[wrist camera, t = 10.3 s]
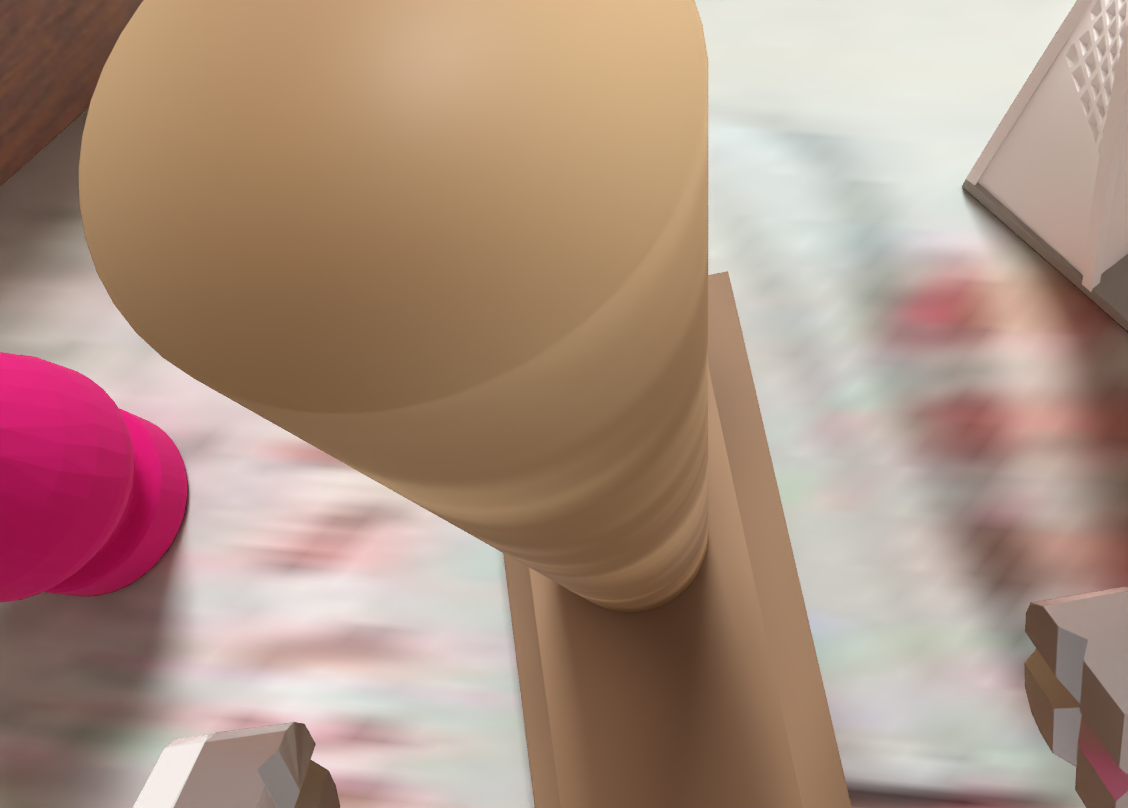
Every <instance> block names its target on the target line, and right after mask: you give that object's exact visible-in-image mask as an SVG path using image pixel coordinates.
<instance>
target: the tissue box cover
mask: <svg viewBox="0 0 1128 808" xmlns="http://www.w3.org/2000/svg"><path fill="white" fill-rule="evenodd" d="M142 2H143V0H0V186H1V185H2V184H3V183H5V182H6V181H7V180H8V179H9V178H10V177H11V176H12V175H14V174H15V173H16V172H17V171H18V170H19V169H20V168H21V167H22V166H24V165H25V164H26V163H27V162H28V161H29V160H30V159H31V158H33V157H34V156H35V155H36V154H37V153H38V152H39V151H40V150H41V149H43V148H44V147H45V146H46V145H47V144H48V143H49V142H50V141H51V140H53V139H54V138H55V137H56V136H57V135H58V134H59V133H60V132H62V131H63V130H64V129H65V128H66V127H67V126H68V125H69V124H70V123H72V122H73V121H74V120H75V119H76V118H77V117H78V116H79V115H80V114H82V113H83V112H84V111H85V110H86V109H87V108H88V107H89V106H90V102H91V99H92V96H93V94H94V91H95V88H96V86H97V83H98V80H99V78H100V75H101V72H102V70H103V67H104V65H105V63H106V61H107V59H108V57H109V56H110V54H111V52H112V50H113V48H114V46H115V44H116V42H117V40H118V38H119V36H120V34H121V33H122V31H123V30H124V28H125V27H126V25H127V24H128V22H129V21H130V19H131V18H132V16H133V15H134V13H135V12H136V10H137V9H138V7H139V6H140V4H141V3H142Z"/></svg>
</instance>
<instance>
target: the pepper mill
mask: <svg viewBox="0 0 1128 808" xmlns="http://www.w3.org/2000/svg"><path fill="white" fill-rule="evenodd" d="M187 494H188V491H187V477H186V469H185V466H184V462H183V459H182V457H181V455H180V452H179V450H178V449H177V447H176V445H175V444H174V442H173V441H172V439H171V438H170V437H169V436H168V435H167V434H166V433H165V432H164V431H163V430H161V429H160V428H159V427H158V426H156V425H154V424H153V423H151V422H149V421H147V420H145V419H142V418H140V417H138V416H135V415H133V414H131V413H129V412H126V411H124V410H122V409H119V408H118V407H117V405H116V404H115V402H114V401H113V400H112V399H111V398H110V397H109V395H108V394H107V393H106V392H105V391H104V390H103V389H102V388H101V387H100V386H98V385H97V384H96V383H95V382H93V381H92V380H91V379H89V378H87V377H86V376H84V375H82V374H80V373H79V372H77V371H74V370H71V369H68V368H66V367H63V366H60V365H57V364H54V363H51V362H48V361H45V360H42V359H39V358H37V357H31V356H23V355H16V354H8V353H1V352H0V602H7V601H14V600H21V599H24V598H27V597H30V596H33V595H36V594H39V593H41V592H49V593H57V594H66V595H74V596H95V595H102V594H108V593H111V592H114V591H116V590H119V589H121V588H123V587H126V586H127V585H129V584H131V583H133V582H134V581H136V580H137V579H139V578H140V577H141V576H143V575H144V574H145V573H146V572H148V571H149V570H150V569H151V568H152V567H153V566H154V565H155V564H156V563H157V562H158V560H159V559H160V558H161V557H162V556H163V554H164V553H165V552H166V551H167V549H168V548H169V547H170V546H171V544H172V542H173V540H174V538H175V536H176V534H177V532H178V530H179V527H180V525H181V522H182V520H183V517H184V512H185V506H186V500H187Z"/></svg>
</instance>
